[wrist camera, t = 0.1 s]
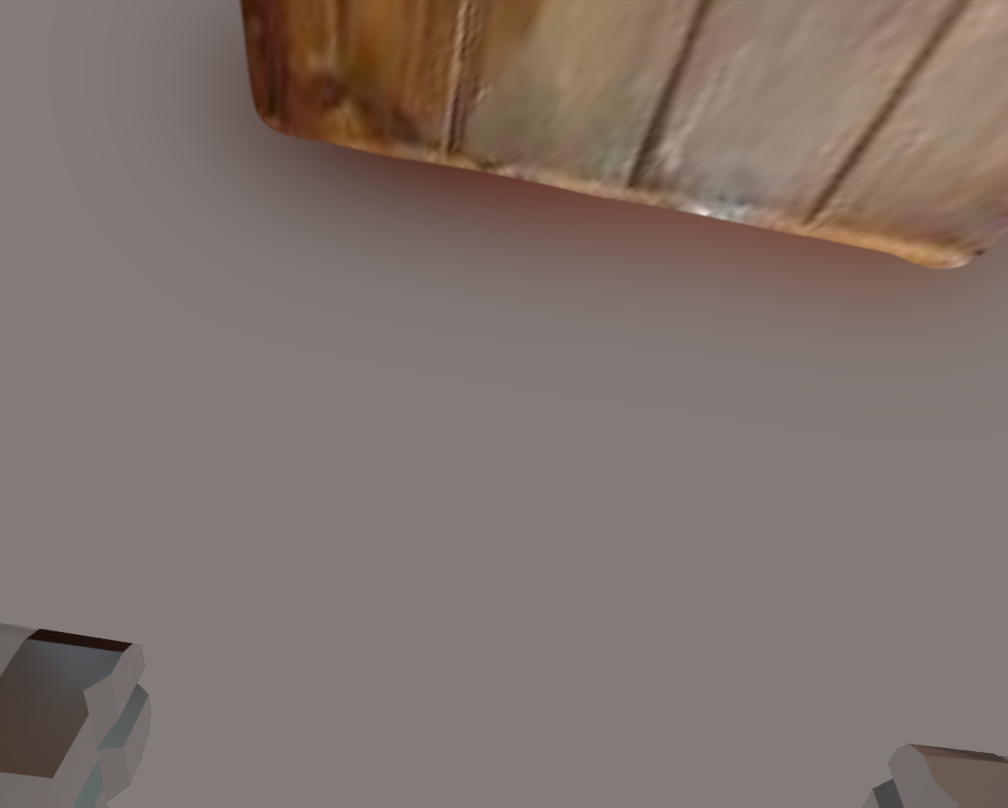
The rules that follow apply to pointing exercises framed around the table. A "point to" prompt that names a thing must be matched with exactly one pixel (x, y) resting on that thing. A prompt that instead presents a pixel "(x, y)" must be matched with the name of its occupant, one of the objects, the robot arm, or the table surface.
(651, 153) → the table surface
